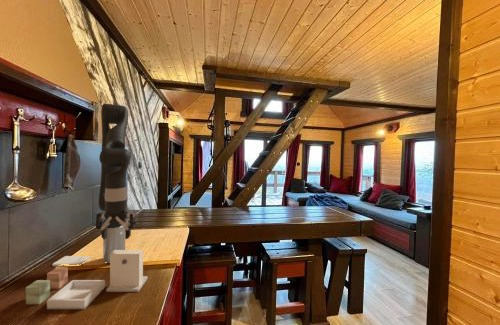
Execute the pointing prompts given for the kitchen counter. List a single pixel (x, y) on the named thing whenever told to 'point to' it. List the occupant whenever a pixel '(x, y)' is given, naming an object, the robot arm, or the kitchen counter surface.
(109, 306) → the kitchen counter surface
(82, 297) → the tray
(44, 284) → the sage block
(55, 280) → the terracotta block
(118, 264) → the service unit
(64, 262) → the external hard drive
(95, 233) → the kitchen counter surface
